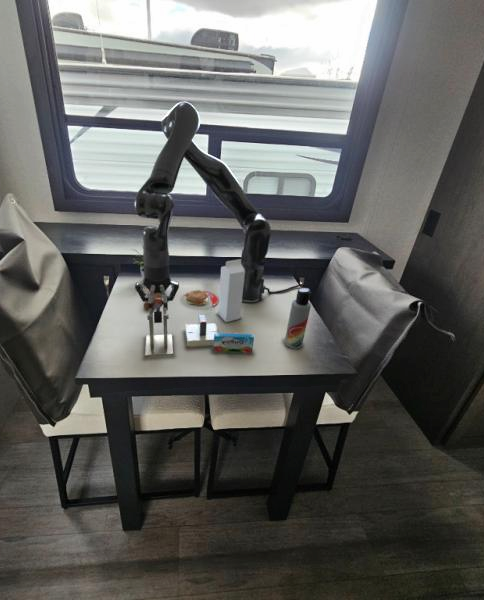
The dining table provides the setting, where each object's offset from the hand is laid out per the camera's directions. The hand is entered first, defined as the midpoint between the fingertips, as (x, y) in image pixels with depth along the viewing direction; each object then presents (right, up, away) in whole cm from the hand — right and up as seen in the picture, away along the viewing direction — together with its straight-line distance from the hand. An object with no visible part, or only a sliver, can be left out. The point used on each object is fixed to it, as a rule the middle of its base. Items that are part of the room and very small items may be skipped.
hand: (158, 311), depth 102 cm
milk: (+23, -3, +13) cm, 27 cm away
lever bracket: (+1, -11, -5) cm, 12 cm away
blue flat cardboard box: (+24, -13, -4) cm, 27 cm away
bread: (-5, +3, +20) cm, 21 cm away
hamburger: (+12, +3, +23) cm, 26 cm away
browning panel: (+14, -9, 0) cm, 17 cm away
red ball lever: (+1, -1, -5) cm, 5 cm away
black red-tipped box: (+14, -6, -1) cm, 16 cm away
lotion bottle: (+44, -11, +1) cm, 45 cm away
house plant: (-12, +12, +34) cm, 38 cm away
